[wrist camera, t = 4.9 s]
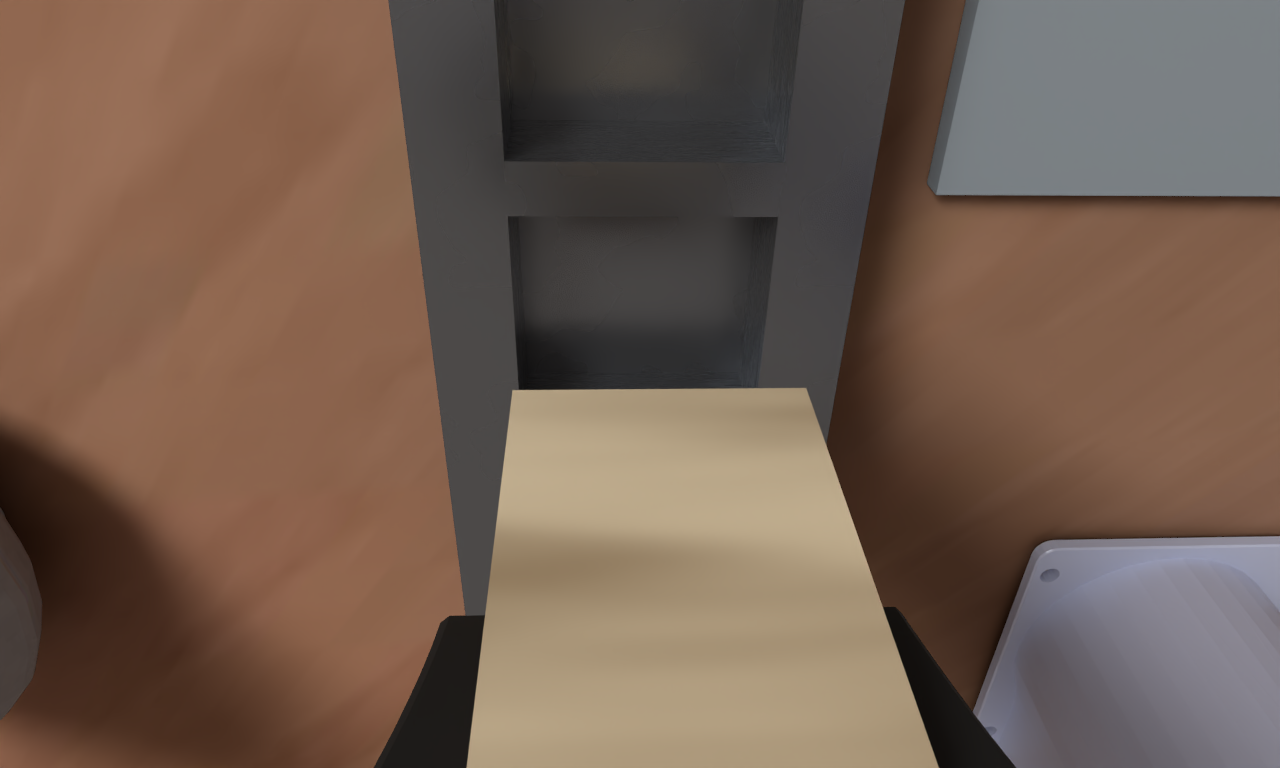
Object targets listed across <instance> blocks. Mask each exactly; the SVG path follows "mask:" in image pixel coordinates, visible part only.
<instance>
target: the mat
mask: <svg viewBox="0 0 1280 768" xmlns="http://www.w3.org/2000/svg"><path fill="white" fill-rule="evenodd" d="M927 184H928V186H929V187H930V188H931V189H932V191H933V192H934V193H935V194H936V195H1073V196H1280V0H966V2H965V7H964V12H963V17H962V21H961V26H960V31H959V35H958V40H957V45H956V49H955V54H954V59H953V63H952V68H951V73H950V78H949V82H948V87H947V92H946V96H945V101H944V106H943V110H942V115H941V120H940V124H939V129H938V134H937V139H936V143H935V148H934V153H933V157H932V162H931V167H930V171H929V176H928V181H927Z"/></svg>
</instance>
